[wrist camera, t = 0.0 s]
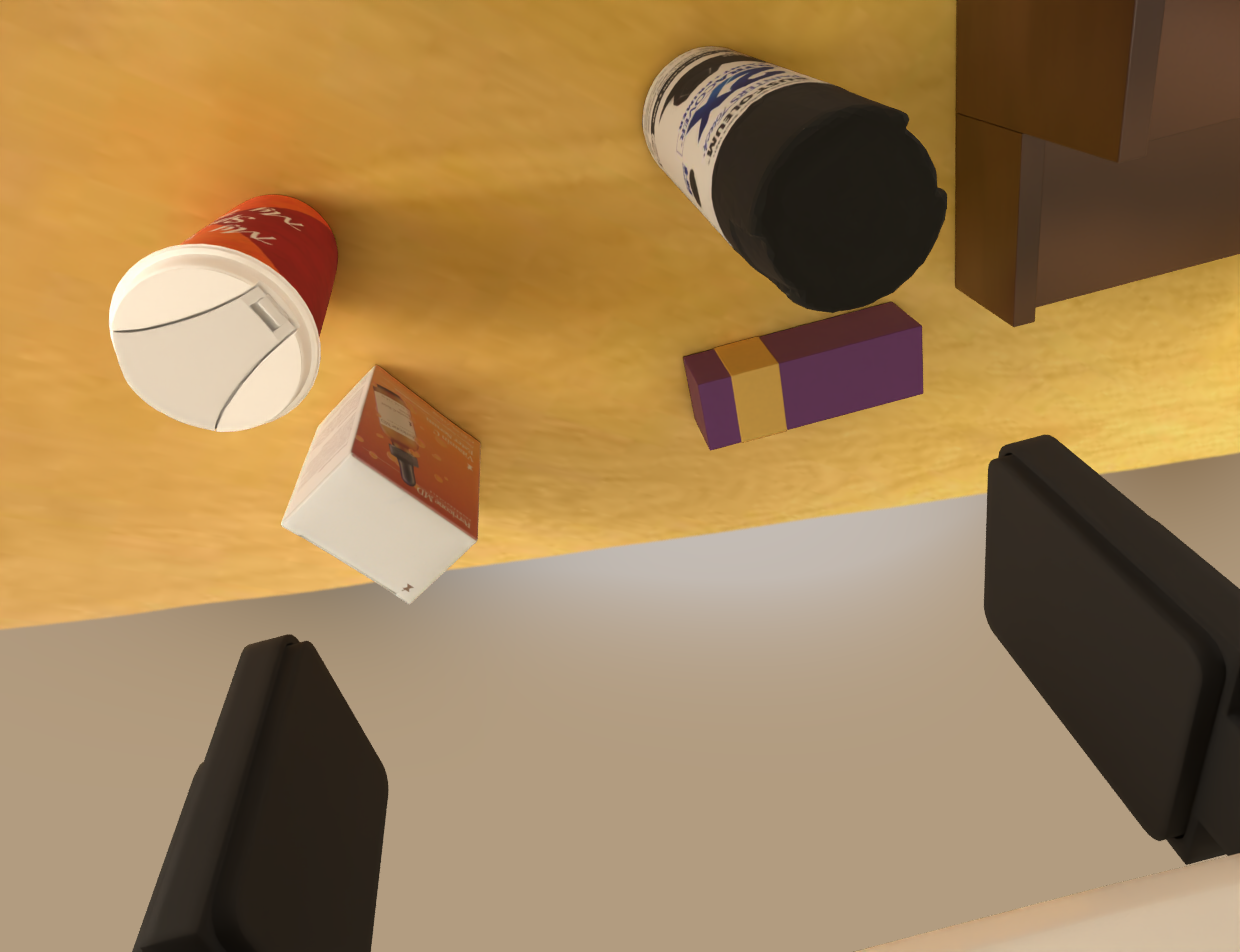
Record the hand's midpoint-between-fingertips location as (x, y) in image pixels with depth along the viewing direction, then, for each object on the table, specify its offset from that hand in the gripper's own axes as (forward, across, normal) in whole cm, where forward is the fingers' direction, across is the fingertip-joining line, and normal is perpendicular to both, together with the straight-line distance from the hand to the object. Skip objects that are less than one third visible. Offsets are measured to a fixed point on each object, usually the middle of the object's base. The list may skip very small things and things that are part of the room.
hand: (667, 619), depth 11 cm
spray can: (+37, -9, +1) cm, 38 cm away
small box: (+37, +12, +14) cm, 41 cm away
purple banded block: (+37, -12, +16) cm, 42 cm away
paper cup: (+37, +14, +2) cm, 40 cm away
